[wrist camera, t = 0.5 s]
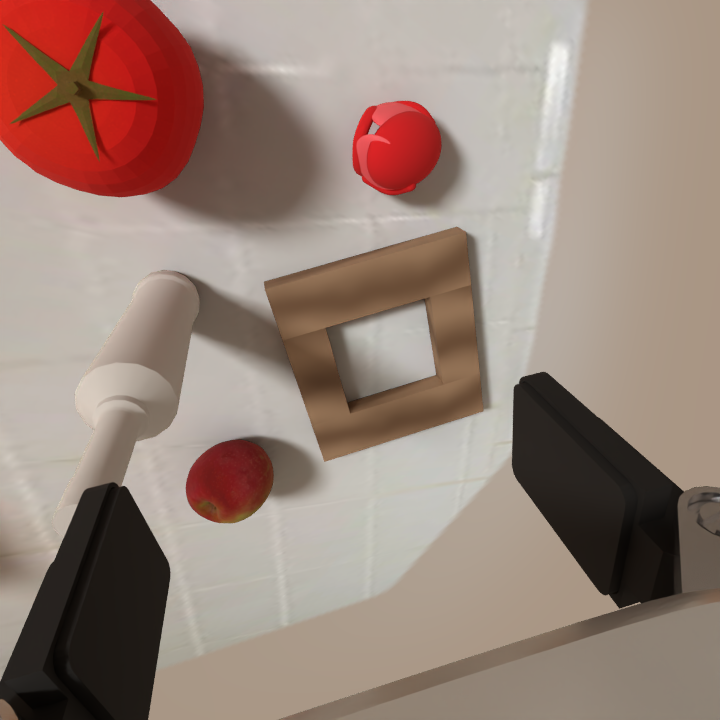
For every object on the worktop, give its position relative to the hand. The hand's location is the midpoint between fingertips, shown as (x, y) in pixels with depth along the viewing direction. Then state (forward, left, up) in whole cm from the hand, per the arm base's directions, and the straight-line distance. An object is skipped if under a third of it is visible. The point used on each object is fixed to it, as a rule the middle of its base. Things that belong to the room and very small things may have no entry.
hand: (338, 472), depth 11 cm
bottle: (+4, -10, -32) cm, 34 cm away
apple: (+22, -11, -32) cm, 41 cm away
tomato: (-11, -7, -32) cm, 34 cm away
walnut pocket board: (+15, +7, -32) cm, 36 cm away
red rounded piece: (-3, +11, -32) cm, 34 cm away
